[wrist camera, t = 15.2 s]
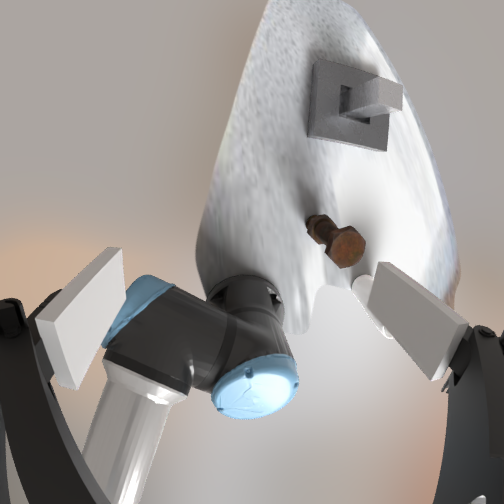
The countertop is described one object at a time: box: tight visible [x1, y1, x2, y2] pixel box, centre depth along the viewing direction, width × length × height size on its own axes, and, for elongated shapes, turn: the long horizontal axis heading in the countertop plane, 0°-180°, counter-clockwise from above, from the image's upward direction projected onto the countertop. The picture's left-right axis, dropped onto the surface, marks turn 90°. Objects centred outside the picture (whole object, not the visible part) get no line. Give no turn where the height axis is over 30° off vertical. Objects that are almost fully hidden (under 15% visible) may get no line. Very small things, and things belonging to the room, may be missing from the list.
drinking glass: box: [352, 275, 394, 339], centre depth 48 cm, size 7×7×15 cm
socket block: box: [307, 59, 389, 152], centre depth 41 cm, size 14×14×4 cm
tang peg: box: [339, 77, 403, 120], centre depth 36 cm, size 4×4×14 cm
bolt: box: [306, 214, 366, 268], centre depth 42 cm, size 6×5×15 cm
